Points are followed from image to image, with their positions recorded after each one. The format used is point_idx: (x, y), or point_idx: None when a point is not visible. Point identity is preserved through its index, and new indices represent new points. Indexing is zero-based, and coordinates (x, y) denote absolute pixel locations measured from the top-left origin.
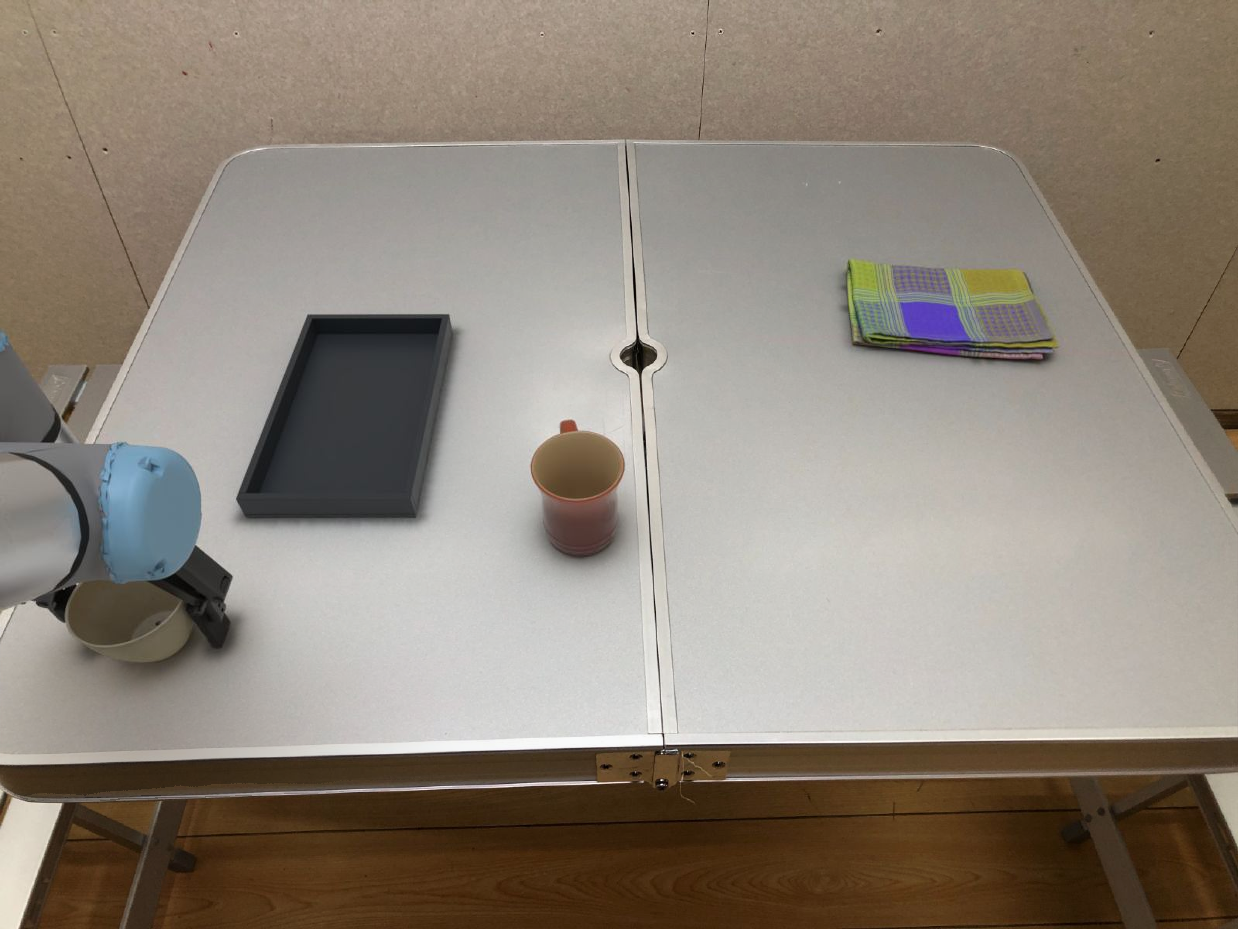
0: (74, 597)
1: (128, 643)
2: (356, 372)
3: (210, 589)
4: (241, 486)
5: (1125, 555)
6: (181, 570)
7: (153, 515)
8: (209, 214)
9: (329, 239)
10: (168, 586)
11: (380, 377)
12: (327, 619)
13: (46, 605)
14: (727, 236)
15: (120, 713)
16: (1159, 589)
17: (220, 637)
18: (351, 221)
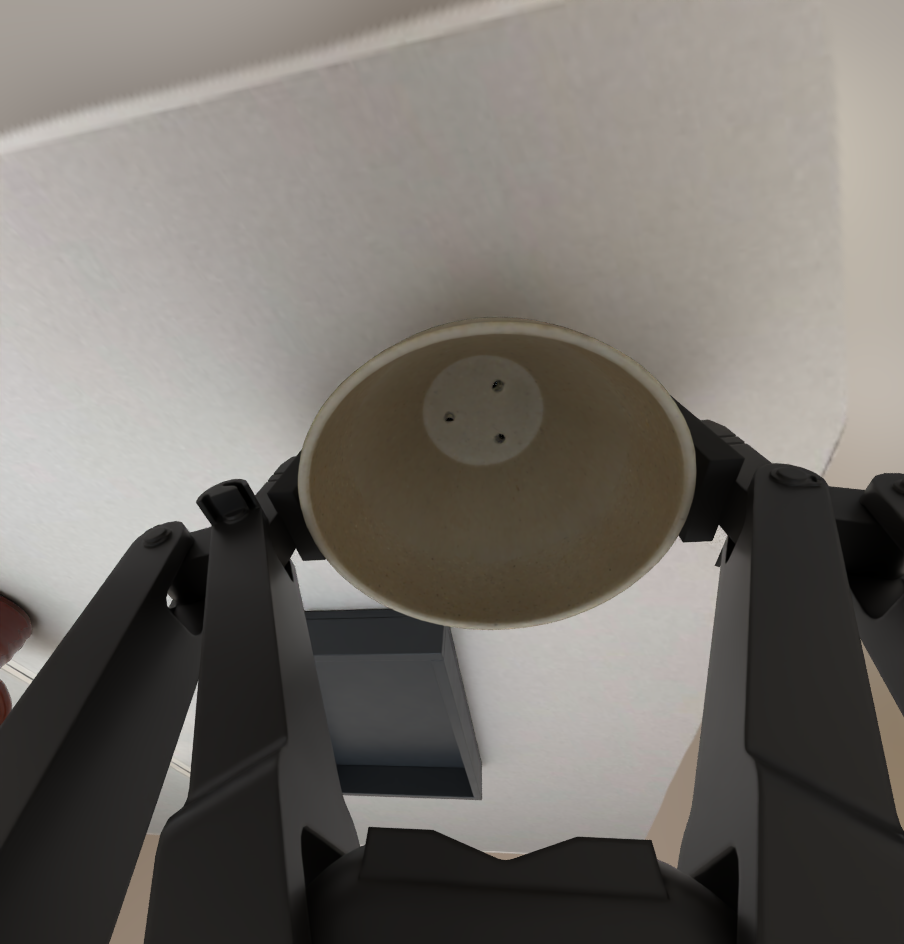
0: (674, 504)
1: (378, 354)
2: (405, 742)
3: (102, 589)
4: (443, 667)
5: None
6: (13, 746)
7: None
8: (644, 831)
9: (512, 814)
10: (226, 605)
11: (374, 737)
12: (196, 471)
13: (776, 476)
14: (166, 801)
15: (494, 187)
16: None
17: None
18: (499, 822)
